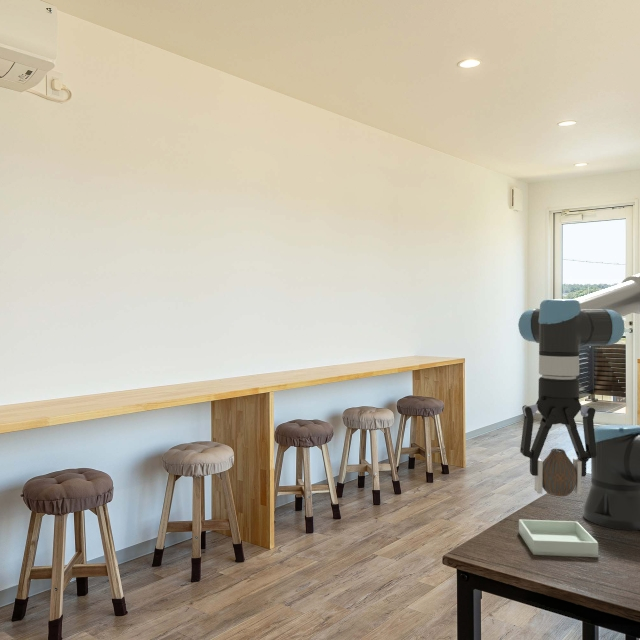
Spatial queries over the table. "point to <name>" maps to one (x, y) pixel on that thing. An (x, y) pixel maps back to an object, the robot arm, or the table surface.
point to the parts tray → (557, 538)
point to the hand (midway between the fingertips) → (557, 491)
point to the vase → (558, 474)
